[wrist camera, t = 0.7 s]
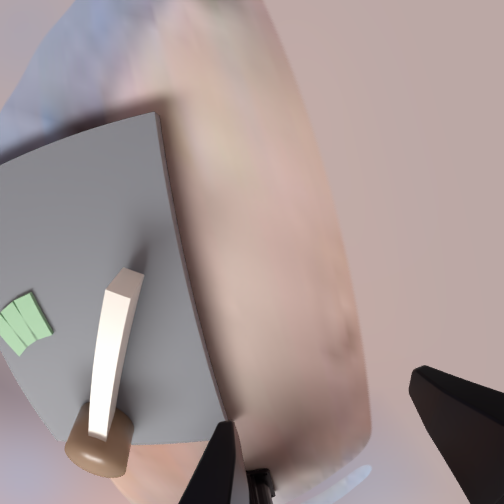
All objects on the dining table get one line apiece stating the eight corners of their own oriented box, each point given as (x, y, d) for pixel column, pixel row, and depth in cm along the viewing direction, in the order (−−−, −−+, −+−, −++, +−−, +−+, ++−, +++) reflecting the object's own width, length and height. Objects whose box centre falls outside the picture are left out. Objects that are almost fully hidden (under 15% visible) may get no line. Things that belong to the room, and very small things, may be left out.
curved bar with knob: (130, 445, 19) (123, 483, 15) (79, 427, 18) (66, 463, 14) (174, 281, 16) (163, 317, 12) (98, 255, 15) (68, 281, 11)
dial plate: (229, 423, 21) (230, 440, 19) (61, 429, 20) (55, 442, 18) (159, 116, 15) (153, 110, 13) (-36, 188, 13) (-52, 192, 12)
